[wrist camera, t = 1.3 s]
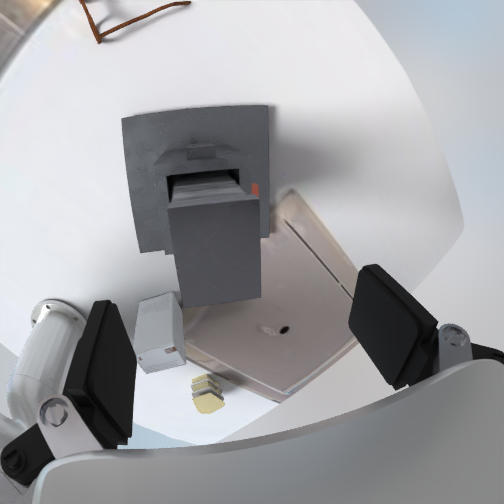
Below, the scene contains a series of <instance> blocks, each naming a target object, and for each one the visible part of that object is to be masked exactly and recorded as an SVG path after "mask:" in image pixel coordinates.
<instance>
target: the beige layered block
mask: <svg viewBox="0 0 504 504" xmlns="http://www.w3.org/2000/svg"><path fill="white" fill-rule="evenodd" d="M192 382H193V384H191V388H192V390H193V392H192V396H193V399H192V400H193V402H194V404H195V406H196V408H197V410H198V411H199V412H200V413H202V414H210V413H212V412H214V411H216V410H218V409H220V408H222V407H223V406H224V405H225V403H224V402H223V400H224V397H223V396H222V395H221V393H222V389H221V388H220V387H219V383H217V382H213V381H212V380H211V378H210V377H209V376H208V375H207V374H205V375H202V376H199V377H197V378H194V379H192Z"/></svg>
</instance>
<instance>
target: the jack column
mask: <svg viewBox="0 0 504 504" xmlns="http://www.w3.org/2000/svg"><path fill="white" fill-rule="evenodd" d="M167 211H168V218H169V226H170V232H171V239H172V245H173V252H174V258H175V264H176V270H177V275H178V281H179V286H180V291H181V296H182V301H183V306H184V308H191V307H199V306H206V305H213V304H221V303H228V302H235V301H241V300H248V299H254V298H261V251H260V199H259V198H258V197H257V195H256V194H248V195H246V193H245V192H244V191H242V190H241V188H240V186H239V185H237V184H236V182H235V180H233V179H232V178H231V177H230V175H229V174H228V173H227V172H226V171H225V170H213V171H203V172H193V173H184V174H177V177H176V182H175V186H174V192H173V199H172V200H171V203H168V207H167Z"/></svg>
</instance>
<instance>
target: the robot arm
mask: <svg viewBox="0 0 504 504" xmlns="http://www.w3.org/2000/svg"><path fill="white" fill-rule="evenodd" d="M31 324H32V327H33V329H32V331H31V333H30V335H29V337H28V339H27V341H26V344H25V346H24V348H23V350H22V352H21V354H20V356H19V359H18V361H17V363H16V365H15V368H14V370H13V373H12V375H11V378H10V380H9V383H8V386H7V391H6V394H7V404H8V407H9V411H10V414H11V417H12V420H11V419H9V418H8V417H6V416H4V415H3V414H1V413H0V504H504V353H503V352H502V351H500V350H497V349H493V348H489V347H486V346H482V345H478V344H474V343H470V338H469V335H468V334H467V332H466V331H465V330H464V329H463V328H461V327H460V326H458V325H455V324H444V325H442V326H441V327H440V329H439V330H438V329H437V328H436V326H437V324H438V321H437V320H436V319H435V318H434V317H433V316H432V315H431V314H430V313H429V312H428V311H427V310H426V309H425V308H424V307H423V306H422V305H421V304H420V303H419V302H418V301H417V300H416V299H415V298H414V297H413V296H412V295H411V294H410V293H408V292H407V291H406V290H405V289H404V288H403V287H402V286H401V285H400V284H399V283H398V282H397V281H396V280H395V279H393V278H392V277H391V276H390V275H389V274H388V273H387V272H386V271H385V270H384V269H382V268H381V267H380V266H379V265H378V264H371V265H366V266H363V268H362V270H360V271H359V274H358V279H357V284H356V289H355V294H354V298H353V303H352V308H351V312H350V316H349V321H348V324H349V328H350V330H351V331H352V333H353V334H354V335H355V337H356V338H357V340H358V341H359V343H360V344H361V345H362V347H363V348H364V350H365V351H366V353H367V354H368V356H369V357H370V358H371V360H372V361H373V363H374V364H375V366H376V367H377V369H378V370H379V372H380V373H381V375H382V376H383V377H384V379H385V380H386V382H387V383H388V384H389V385H392V386H393V388H394V389H395V390H398V389H400V388H402V387H405V386H406V385H407V384H408V385H409V387H408V388H406V389H404V390H402V391H400V392H398V393H395V394H393V395H391V396H389V397H386V398H384V399H382V400H379V401H377V402H374V403H372V404H369V405H367V406H364V407H361V408H359V409H356V410H353V411H350V412H348V413H345V414H342V415H339V416H336V417H333V418H330V419H327V420H324V421H320V422H317V423H314V424H310V425H306V426H303V427H299V428H295V429H291V430H287V431H283V432H279V433H275V434H270V435H265V436H260V437H255V438H250V439H244V440H238V441H232V442H225V443H218V444H210V445H200V446H189V447H176V448H159V449H117V445H127V443H128V438H129V437H130V438H131V436H132V422H133V404H134V390H135V378H136V368H137V358H136V354H135V352H134V349H133V347H132V345H131V342H130V340H129V337H128V335H127V332H126V330H125V327H124V324H123V322H122V319H121V316H120V313H119V311H118V308H117V305H116V304H115V303H113V304H112V302H111V301H110V300H102V301H95V302H94V304H93V307H92V309H91V312H90V315H89V317H88V320H87V321H86V319H85V318H84V317H83V316H82V315H81V314H80V313H79V312H78V311H77V310H75V309H74V308H72V307H71V306H69V305H67V304H65V303H63V302H60V301H55V300H46V301H42V302H40V303H39V304H37V305H36V307H35V308H34V310H33V312H32V315H31Z"/></svg>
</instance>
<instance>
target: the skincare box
mask: <svg viewBox="0 0 504 504" xmlns="http://www.w3.org/2000/svg"><path fill="white" fill-rule="evenodd" d="M133 349H134V352H135V354H136V358H137V363H138V364H139V365H140V367H141V368H142V369H143V370H144V371H145V373H146V374H149V373H153V372H157V371H161V370H165V369H169V368H173V367H177V366H180V365H184V364H186V355H185V345H184V332H183V317H182V310H181V308H180V306H179V304H178V302H177V299H176V297H175V295H174V293H173V292H170V293H167V294H163V295H160V296H157V297H154V298H150V299H147V300H144V301H141V302H139V307H138V313H137V320H136V326H135V333H134V341H133Z"/></svg>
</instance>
